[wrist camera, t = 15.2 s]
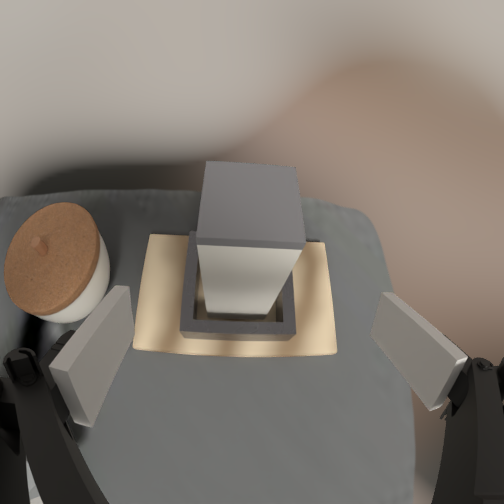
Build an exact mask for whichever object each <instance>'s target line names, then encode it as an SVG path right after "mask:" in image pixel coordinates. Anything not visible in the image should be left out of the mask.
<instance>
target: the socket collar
mask: <svg viewBox="0 0 504 504" xmlns="http://www.w3.org/2000/svg"><path fill="white" fill-rule="evenodd" d="M196 233H197V231H190V232H189V240H188V248H187V256H186V264H185V273H184V283H183V293H182V304H181V316H180V329H179V331H180V333H181V334H182V336H183V337H184V338H188V339H204V340H226V341H289V340H290V339H291V338H292V337H294V336H295V335H296V318H295V302H294V287H293V273H292V271H291V272H290V274H289V276H288V278H287V280H286V282H285V283H284V285H283V287H282V289H281V291H280V292H279V294H278V296H277V298H276V300H275V301H276V322H238V321H213V320H197V305H198V291H199V278H200V264H199V256H198V249H197V241H196Z"/></svg>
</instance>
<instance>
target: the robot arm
mask: <svg viewBox="0 0 504 504" xmlns="http://www.w3.org/2000/svg"><path fill="white" fill-rule="evenodd" d="M134 335H135V329H134V322H133V315H132V307H131V299H130V289H129V286H119V285H115V286H114V287H113V288H112V290H111V291H110V292H109V293H108V294H107V295H106V296H105V297H104V299H103V300H102V301H101V302H100V303H99V304H98V306H97V307H96V308H95V309H94V310H93V311H92V313H91V314H90V315H89V316H88V317H87V319H86V320H85V321H84V322H83V323H82V325H81V326H80V327H79V328H78V329H77V331H74V330H70V331H68V332H66V333H65V334H63V335H62V336H61V337H60V338H59V339H58V340H57V342H56V344H54V345H53V346H52V348H51V350H49V351H48V352H47V354H46V355H45V356H44V357H43V359H42V360H41V361H40V362H38V359H37V357H36V355H35V353H34V351H33V350H31V349H29V348H18V349H15V350H12V351H11V352H9V353H8V354H7V355H6V356H5V358H4V361H3V364H4V366H5V368H6V370H7V373H8V375H9V377H10V378H2V377H0V504H30V497H29V489H28V480H27V467H26V457H27V460H28V464H29V467H30V470H31V473H32V476H33V479H34V482H35V485H36V487H37V490H38V492H39V495H40V497H41V500H42V502H43V504H109V503H108V501H107V500H106V498H105V496H104V495H103V493H102V491H101V490H100V488H99V486H98V485H97V483H96V481H95V479H94V478H93V476H92V474H91V472H90V470H89V468H88V466H87V464H86V462H85V460H84V458H83V456H82V454H81V452H80V450H79V448H78V446H77V444H76V441H75V439H74V437H73V434H72V432H71V430H70V427H69V425H68V423H67V421H66V419H67V417H68V415H69V413H70V415H71V417H72V419H73V420H74V422H75V423H77V424H80V425H84V426H87V427H91V428H93V425H94V423H95V420H96V418H97V416H98V413H99V411H100V408H101V406H102V404H103V401H104V399H105V397H106V395H107V392H108V390H109V388H110V386H111V383H112V381H113V379H114V377H115V375H116V372H117V370H118V368H119V366H120V364H121V362H122V360H123V358H124V356H125V353H126V351H127V349H128V347H129V345H130V343H131V341H132V339H133V337H134ZM370 336H371V337H372V339H373V340H374V341H375V342H376V344H377V345H378V346H379V347H380V348H381V350H382V351H383V352H384V353H385V355H386V356H387V357H388V358H389V360H390V361H391V362H392V363H393V365H394V366H395V367H396V368H397V370H398V371H399V372H400V373H401V375H402V376H403V377H404V379H405V380H406V381H407V382H408V384H409V385H410V386H411V387H412V389H413V390H414V391H415V393H416V394H417V395H418V396H419V398H420V399H421V400H422V402H423V403H424V404H425V406H426V407H427V408H428V410H429V411H431V410H433V409H436V408H438V407H441V406H442V404H443V403H444V401H445V399H446V398H447V396H448V397H449V399H450V400H451V401H450V402H449V404H448V406H447V407H446V409H445V410H444V412H443V414H442V415H441V417H440V419H442V418H443V417H444V415H446V414H447V417H446V418H445V420H446V430H445V438H444V446H443V452H442V459H441V464H440V470H439V474H438V480H437V484H436V488H435V492H434V496H433V500H432V503H431V504H504V405H503V403H502V401H503V400H504V358H503V359H502V361H501V363H500V365H499V366H493V364H492V363H491V362H490V361H488V360H486V359H484V358H474V359H473V360H472V359H471V358H470V357H469V356H468V355H467V354H466V353H465V352H463V351H462V350H461V349H460V348H459V347H458V346H456V345H455V344H454V343H453V342H452V341H451V340H450V339H449V338H448V337H446V336H445V335H444V334H442V333H441V332H440V331H438V330H437V329H436V328H435V327H434V326H433V325H431V324H430V323H429V322H428V321H427V320H425V319H424V318H423V317H422V316H420V314H418V313H417V312H416V311H415V310H413V309H412V308H411V307H410V306H408V305H407V304H406V303H405V302H404V301H402V300H401V299H400V298H399V297H397V296H396V295H395V294H394V293H392V292H386V293H381V296H380V300H379V304H378V308H377V312H376V316H375V319H374V323H373V326H372V330H371V333H370Z"/></svg>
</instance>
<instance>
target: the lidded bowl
mask: <svg viewBox="0 0 504 504" xmlns="http://www.w3.org/2000/svg"><path fill="white" fill-rule="evenodd" d="M109 278H110V262H109V256H108V252H107V249H106V246H105V243H104V241H103V238H102V237H101V235H100V233H99V231H98V228H97V225H96V224H95V222H94V220H93V218H92V216H91V215H90V214H89V212H88V211H87V210H86V209H84V208H83V207H81V206H79V205H77V204H74V203H67V202H61V203H55V204H51V205H49V206H46V207H44V208H42V209H40V210H39V211H37V212H36V213H34V214H33V215H32V216H31V217H29V218H28V219H27V220H26V221H25V222H24V223H23V225H22V226H21V227H20V228H19V230H18V231H17V233H16V234H15V236H14V238H13V239H12V241H11V243H10V246H9V248H8V251H7V255H6V259H5V264H4V281H5V285H6V289H7V292H8V294H9V296H10V298H11V299H12V301H13V302H14V303H15V304H16V305H17V306H18V307H19V308H21V309H22V310H24V311H25V312H27V313H30V314H33V315H35V316H37V317H39V318H41V319H44V320H47V321H50V322H54V323H71V322H75V321H78V320H81V319H83V318H85V317H86V316H88V315H89V314H90V313H92V311H93V310H94V309H95V308H96V307H97V306H98V304H99V303H100V302H101V301H102V299H103V297H104V295H105V293H106V290H107V287H108V284H109Z"/></svg>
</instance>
